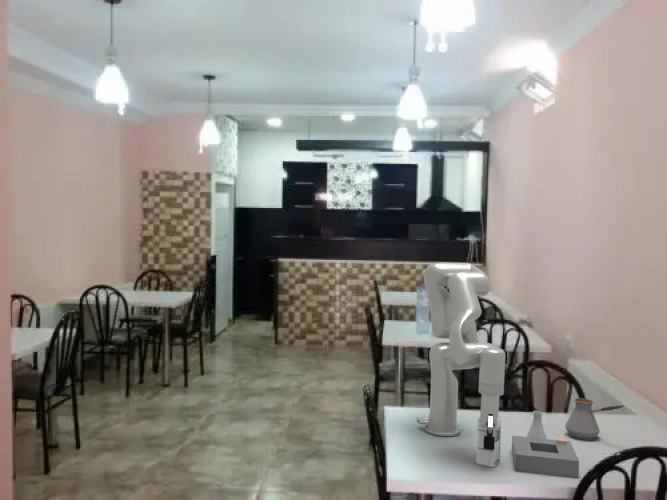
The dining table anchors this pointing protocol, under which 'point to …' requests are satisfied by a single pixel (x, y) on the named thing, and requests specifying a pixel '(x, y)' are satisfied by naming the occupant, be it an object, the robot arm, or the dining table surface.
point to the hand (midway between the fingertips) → (488, 444)
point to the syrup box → (486, 455)
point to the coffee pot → (585, 419)
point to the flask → (537, 427)
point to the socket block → (545, 456)
